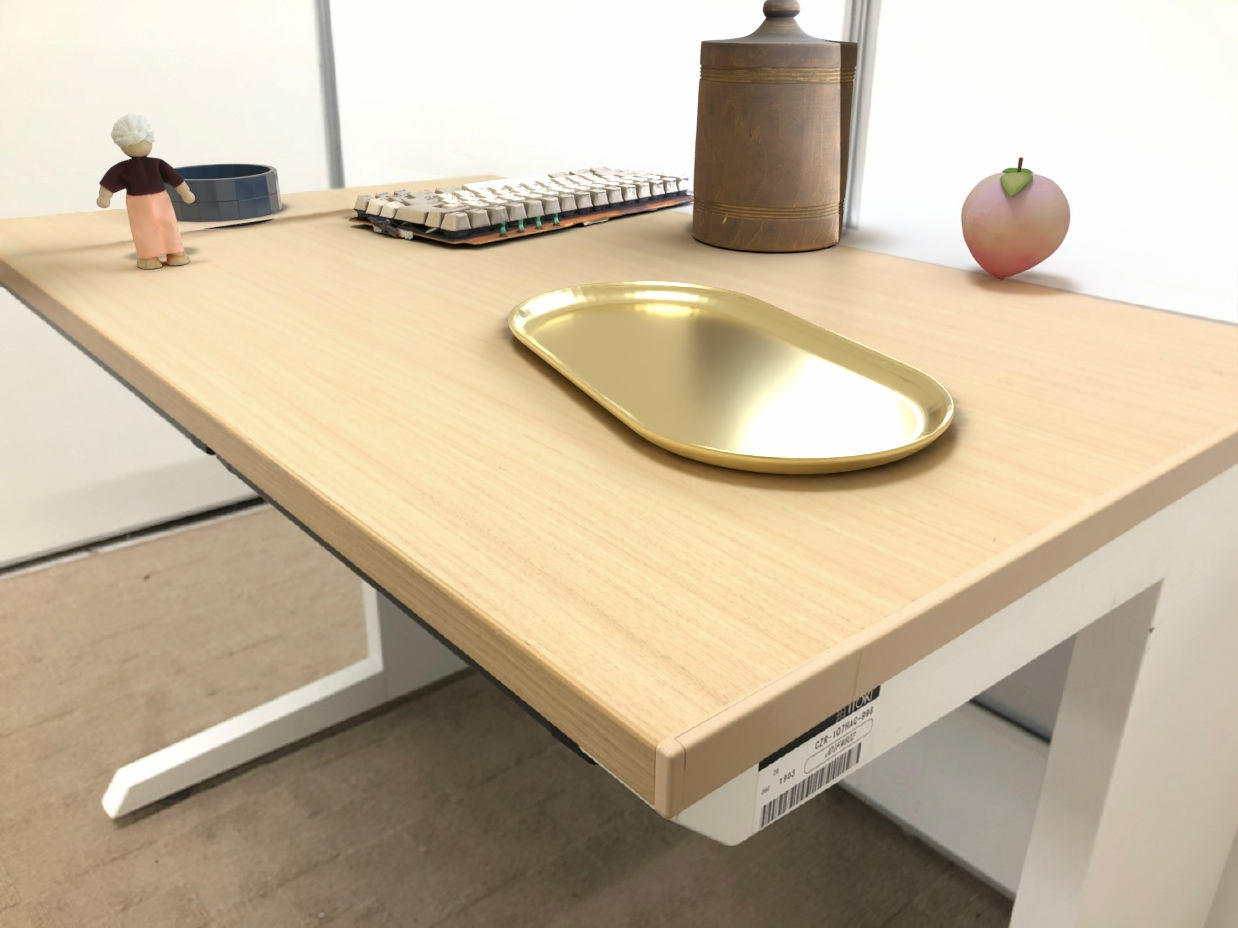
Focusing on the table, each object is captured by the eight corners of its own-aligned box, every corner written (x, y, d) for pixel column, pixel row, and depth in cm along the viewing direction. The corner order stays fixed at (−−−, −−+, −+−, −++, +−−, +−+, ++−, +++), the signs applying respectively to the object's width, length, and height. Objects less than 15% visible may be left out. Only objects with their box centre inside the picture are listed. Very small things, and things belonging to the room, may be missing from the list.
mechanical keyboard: (587, 184, 129) (586, 158, 128) (704, 203, 118) (705, 173, 117) (341, 228, 104) (338, 195, 102) (461, 257, 92) (459, 220, 91)
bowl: (143, 218, 107) (134, 171, 105) (249, 204, 115) (243, 160, 113) (193, 235, 100) (184, 184, 98) (303, 218, 108) (297, 171, 106)
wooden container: (822, 222, 106) (842, -4, 97) (857, 253, 93) (883, -6, 84) (685, 223, 106) (692, -4, 97) (699, 254, 93) (709, -7, 83)
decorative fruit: (1067, 297, 79) (1093, 167, 75) (960, 291, 80) (979, 164, 76) (1046, 270, 87) (1067, 151, 83) (949, 265, 89) (965, 148, 84)
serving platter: (695, 290, 80) (696, 271, 79) (1028, 447, 51) (1033, 418, 51) (473, 318, 73) (472, 297, 72) (716, 519, 44) (718, 487, 43)
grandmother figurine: (191, 254, 92) (165, 109, 86) (209, 261, 89) (184, 112, 84) (104, 268, 87) (71, 115, 81) (121, 275, 84) (88, 118, 79)
